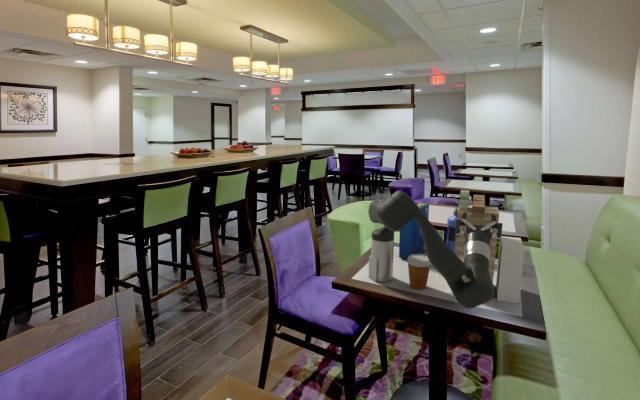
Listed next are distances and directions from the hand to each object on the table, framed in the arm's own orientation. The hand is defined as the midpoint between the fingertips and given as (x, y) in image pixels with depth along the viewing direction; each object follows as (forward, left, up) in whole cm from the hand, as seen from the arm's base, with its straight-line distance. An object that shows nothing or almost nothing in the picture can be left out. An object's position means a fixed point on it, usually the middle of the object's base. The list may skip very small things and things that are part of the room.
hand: (479, 214), depth 127 cm
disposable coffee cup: (-9, +20, -33) cm, 40 cm away
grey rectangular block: (+19, +2, -33) cm, 38 cm away
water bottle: (+30, +43, -33) cm, 62 cm away
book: (+12, +53, -33) cm, 64 cm away
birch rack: (+10, +11, -33) cm, 36 cm away
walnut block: (+7, +8, -1) cm, 11 cm away
